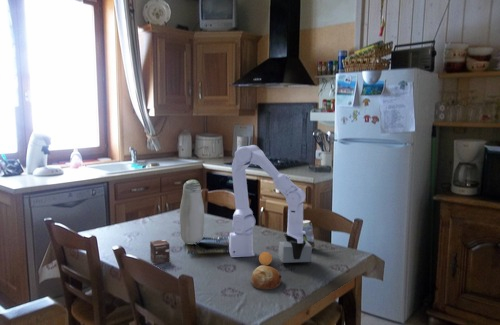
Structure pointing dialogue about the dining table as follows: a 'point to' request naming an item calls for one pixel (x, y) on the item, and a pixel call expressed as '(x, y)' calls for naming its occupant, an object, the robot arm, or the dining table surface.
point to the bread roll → (265, 277)
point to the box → (159, 251)
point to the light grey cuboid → (287, 252)
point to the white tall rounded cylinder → (192, 213)
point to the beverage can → (308, 232)
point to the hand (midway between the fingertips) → (294, 255)
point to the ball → (265, 258)
